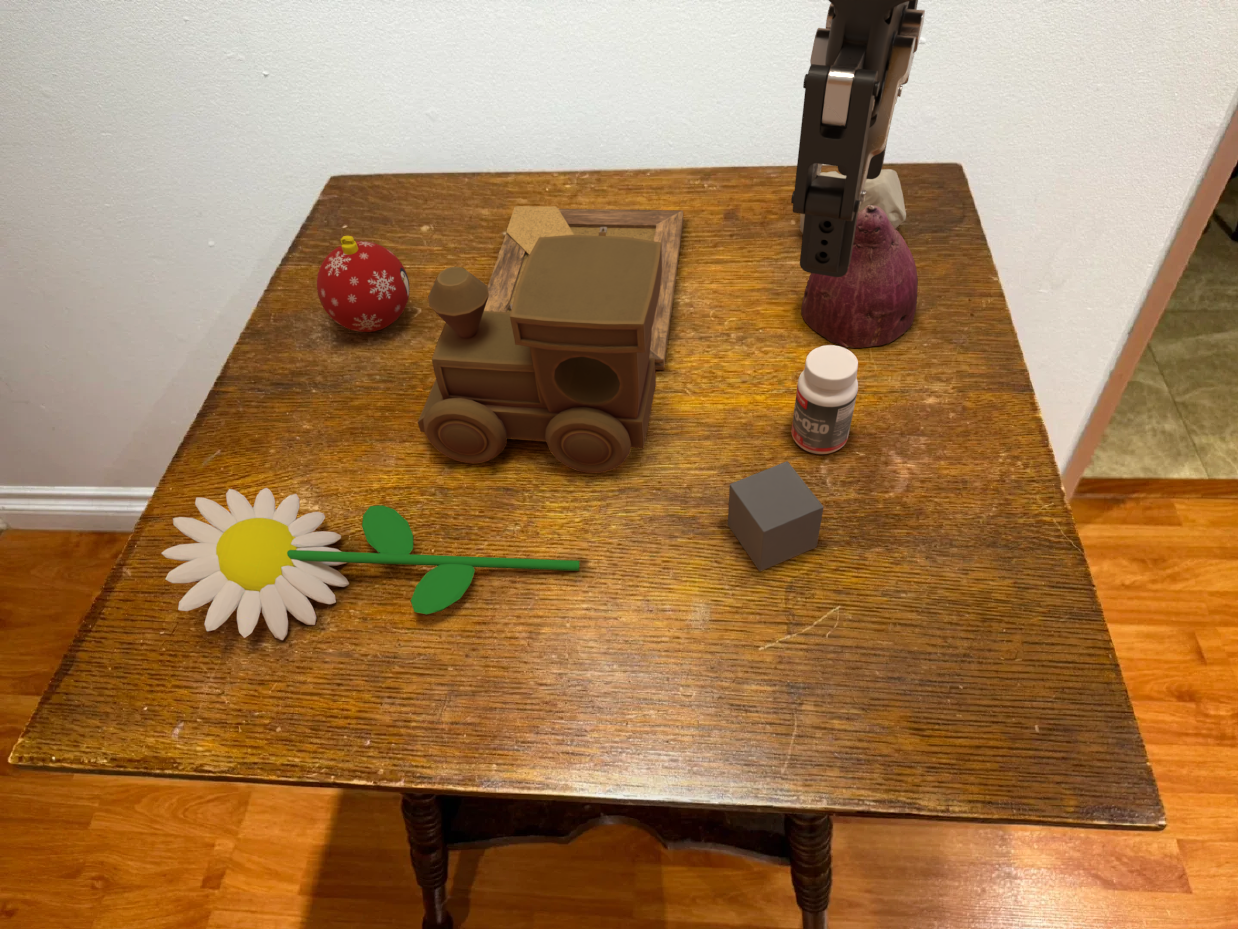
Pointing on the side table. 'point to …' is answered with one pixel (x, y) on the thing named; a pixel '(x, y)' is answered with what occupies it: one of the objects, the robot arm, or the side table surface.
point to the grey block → (774, 515)
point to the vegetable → (866, 288)
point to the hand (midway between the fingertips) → (842, 219)
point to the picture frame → (593, 222)
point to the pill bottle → (825, 399)
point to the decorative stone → (879, 196)
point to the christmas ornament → (362, 285)
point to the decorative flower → (303, 561)
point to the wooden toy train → (549, 355)
